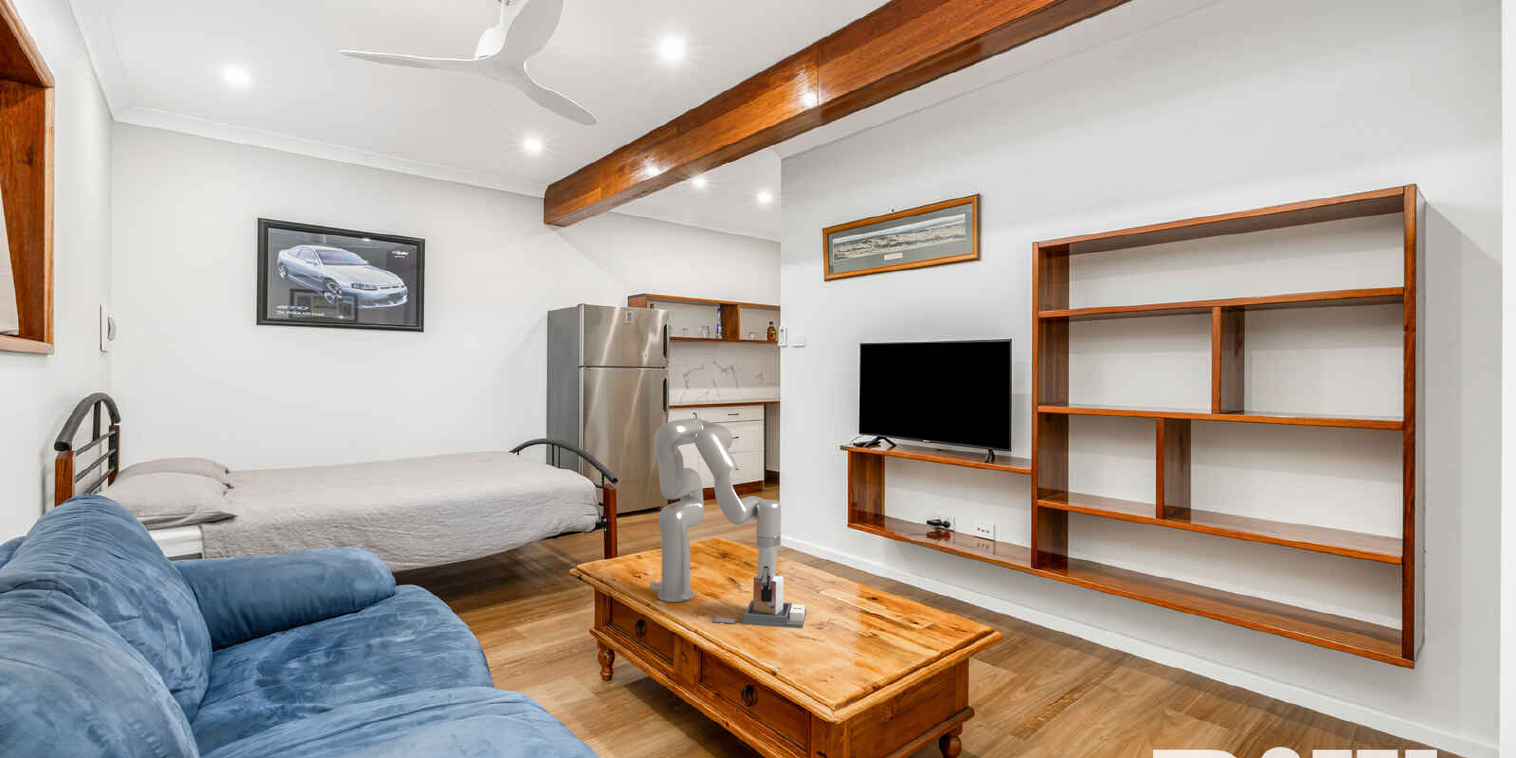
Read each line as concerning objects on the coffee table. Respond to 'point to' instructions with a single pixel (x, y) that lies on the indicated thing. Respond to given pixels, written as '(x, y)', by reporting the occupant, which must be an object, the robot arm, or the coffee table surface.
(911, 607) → the coffee table surface
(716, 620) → the phone
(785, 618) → the grey tray
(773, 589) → the small box
